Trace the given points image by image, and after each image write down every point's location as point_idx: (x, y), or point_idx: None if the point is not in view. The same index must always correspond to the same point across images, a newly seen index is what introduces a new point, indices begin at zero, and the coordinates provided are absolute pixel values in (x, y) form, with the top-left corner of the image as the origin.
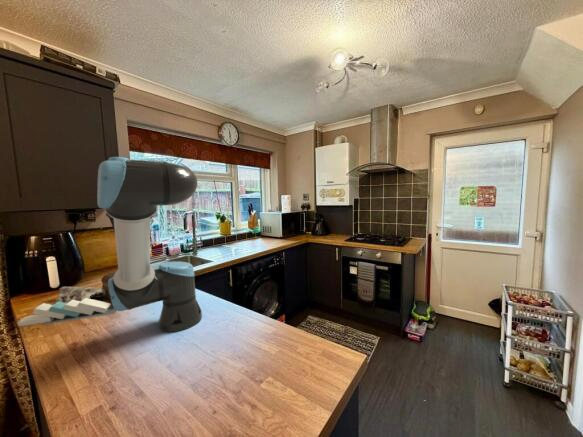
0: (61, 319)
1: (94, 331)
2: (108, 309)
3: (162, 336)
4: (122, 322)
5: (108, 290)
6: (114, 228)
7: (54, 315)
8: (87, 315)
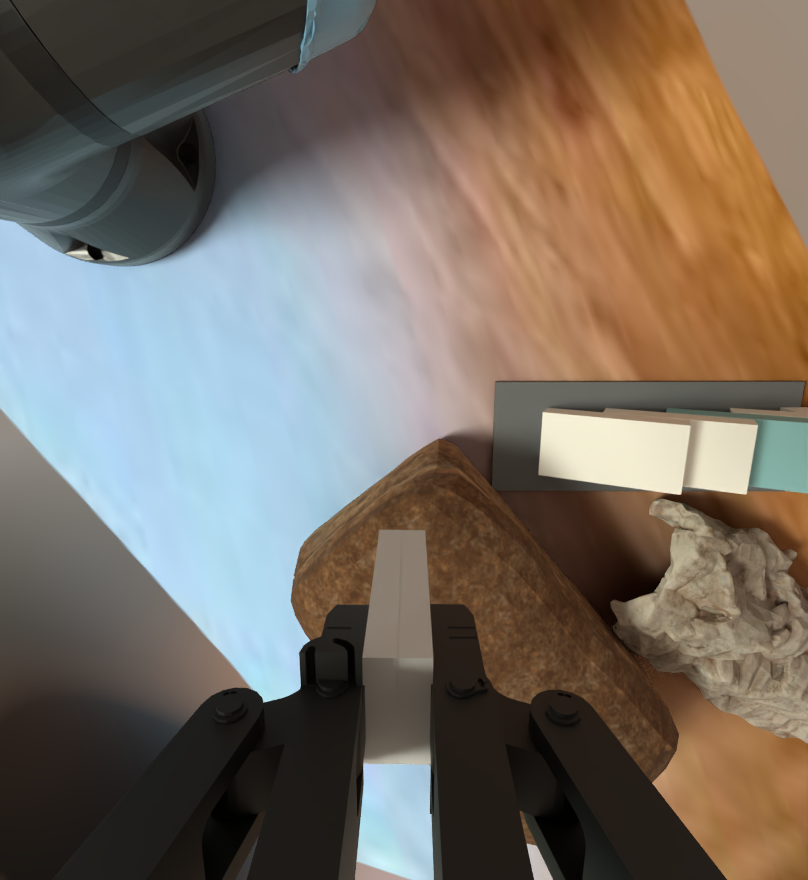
0: None
1: (525, 210)
2: None
3: None
4: (420, 264)
5: (600, 623)
6: (657, 823)
7: (778, 412)
8: None
